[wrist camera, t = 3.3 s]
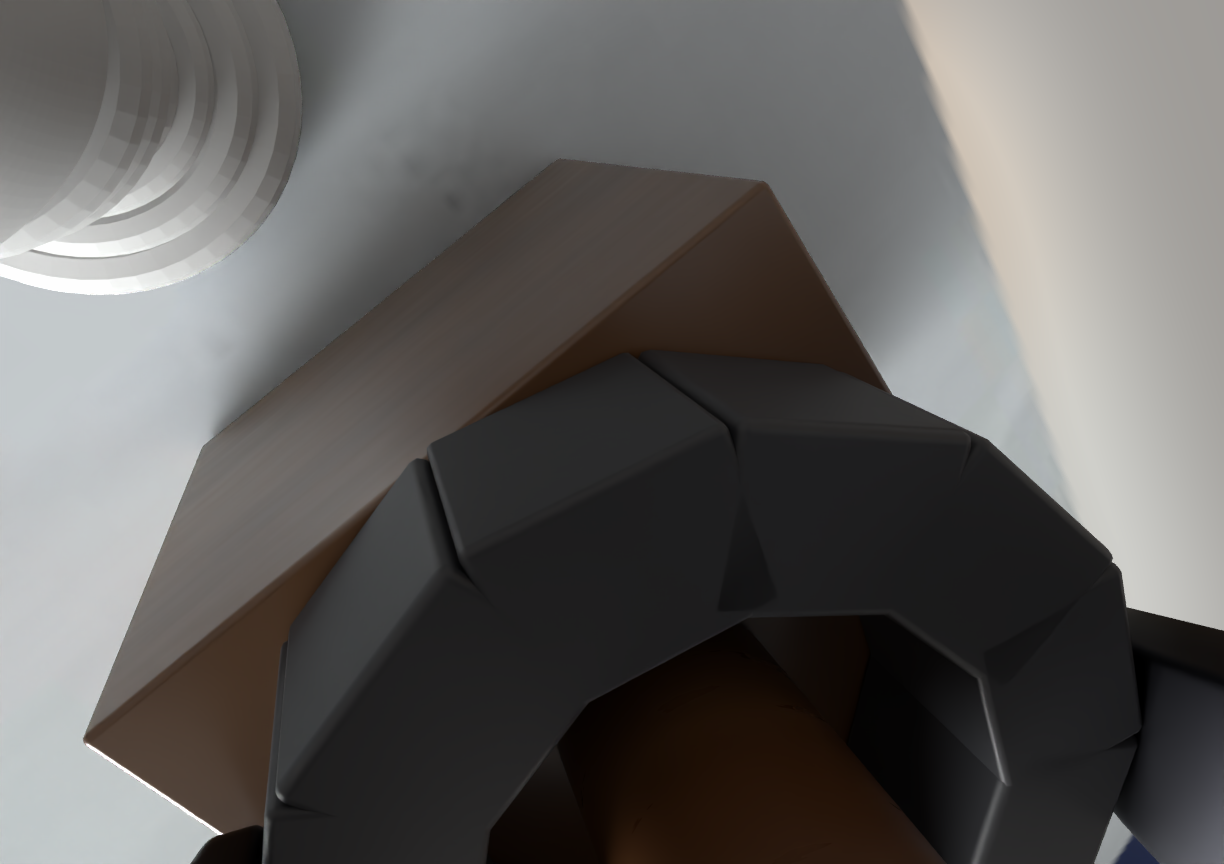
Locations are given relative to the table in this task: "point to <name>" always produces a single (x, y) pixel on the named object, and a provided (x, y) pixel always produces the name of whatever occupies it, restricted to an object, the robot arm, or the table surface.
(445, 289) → the peg stand
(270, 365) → the table surface
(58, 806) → the table surface
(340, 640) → the tape roll
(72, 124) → the chess piece
